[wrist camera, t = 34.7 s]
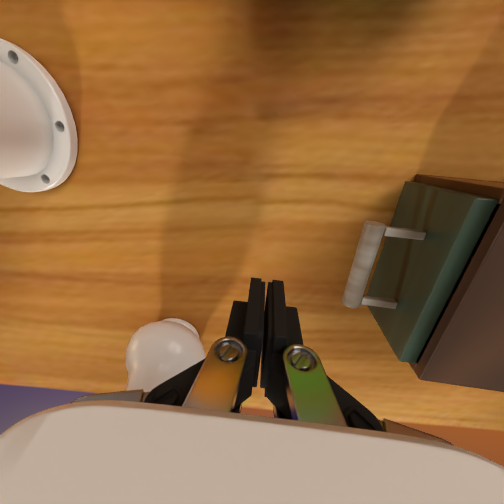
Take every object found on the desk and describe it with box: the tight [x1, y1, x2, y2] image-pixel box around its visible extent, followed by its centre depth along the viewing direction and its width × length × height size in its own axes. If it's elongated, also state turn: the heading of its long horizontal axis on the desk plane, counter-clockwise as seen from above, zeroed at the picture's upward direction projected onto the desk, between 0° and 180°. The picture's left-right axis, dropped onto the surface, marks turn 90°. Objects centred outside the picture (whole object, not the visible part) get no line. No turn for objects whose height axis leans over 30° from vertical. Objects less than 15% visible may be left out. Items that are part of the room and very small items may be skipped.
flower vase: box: [125, 318, 205, 392], centre depth 19 cm, size 13×18×25 cm
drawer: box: [342, 181, 500, 363], centre depth 18 cm, size 19×12×8 cm, turn 85°
